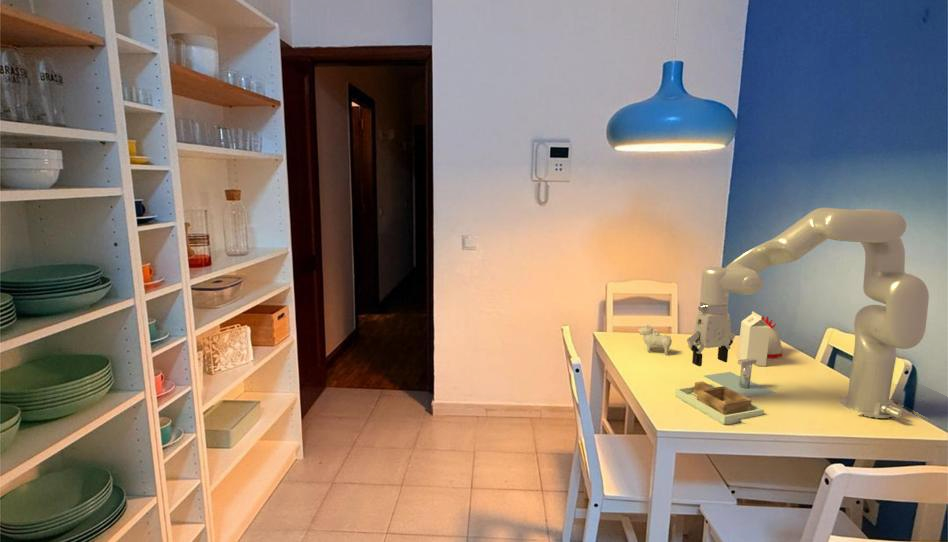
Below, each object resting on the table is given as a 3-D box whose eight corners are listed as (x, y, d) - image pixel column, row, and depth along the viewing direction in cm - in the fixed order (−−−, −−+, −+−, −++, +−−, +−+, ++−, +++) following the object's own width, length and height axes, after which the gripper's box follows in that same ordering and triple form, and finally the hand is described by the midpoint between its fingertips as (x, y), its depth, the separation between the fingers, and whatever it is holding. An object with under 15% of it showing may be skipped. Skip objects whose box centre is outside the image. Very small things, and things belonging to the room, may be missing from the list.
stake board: (775, 395, 153) (776, 392, 153) (746, 400, 149) (746, 397, 149) (729, 374, 170) (730, 371, 169) (702, 378, 166) (702, 375, 166)
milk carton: (756, 359, 184) (762, 311, 181) (765, 366, 177) (771, 316, 174) (737, 359, 185) (742, 311, 181) (745, 365, 178) (751, 316, 175)
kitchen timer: (748, 344, 202) (752, 309, 200) (786, 352, 192) (790, 316, 190) (736, 351, 193) (740, 315, 191) (774, 361, 183) (779, 323, 181)
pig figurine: (638, 347, 198) (640, 322, 196) (671, 352, 192) (673, 326, 190) (635, 350, 193) (637, 325, 191) (669, 356, 187) (671, 330, 185)
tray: (762, 417, 138) (763, 409, 138) (723, 425, 134) (724, 416, 133) (711, 390, 156) (711, 383, 156) (675, 396, 152) (675, 389, 151)
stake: (755, 387, 156) (758, 360, 155) (740, 389, 155) (743, 362, 153) (747, 383, 159) (750, 357, 158) (733, 386, 157) (736, 359, 156)
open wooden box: (750, 412, 140) (751, 399, 139) (722, 417, 137) (724, 404, 136) (710, 391, 154) (711, 379, 153) (684, 395, 151) (685, 383, 150)
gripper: (699, 314, 138) (696, 371, 141) (746, 308, 144) (741, 363, 147) (681, 308, 145) (677, 362, 148) (726, 303, 151) (722, 355, 154)
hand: (709, 362), depth 147 cm, fingers open, 9 cm apart
